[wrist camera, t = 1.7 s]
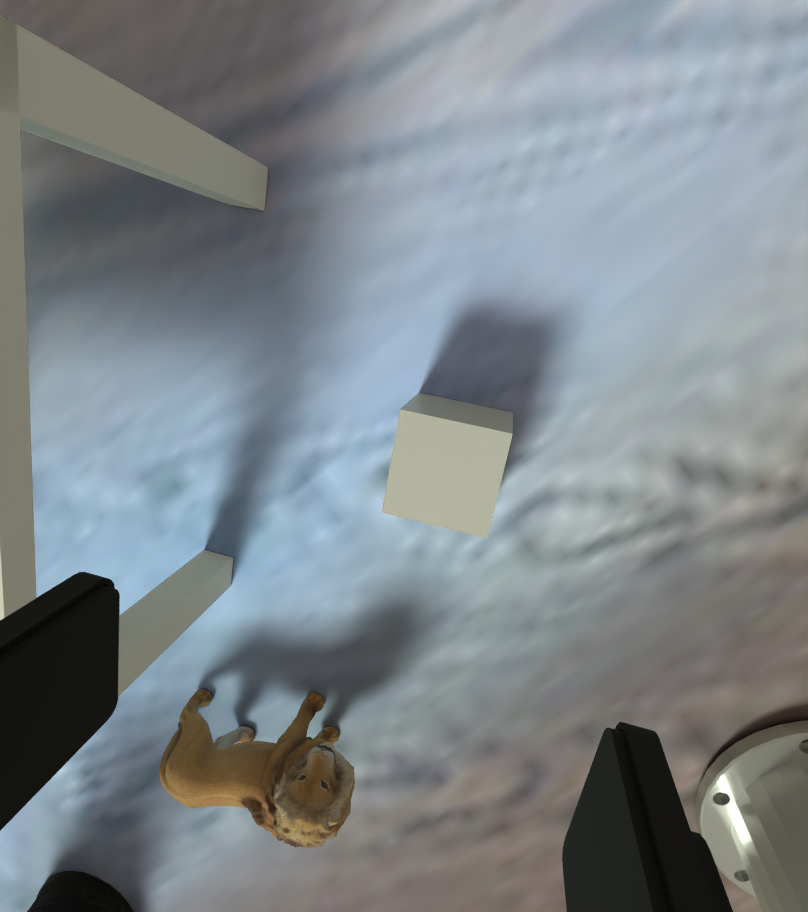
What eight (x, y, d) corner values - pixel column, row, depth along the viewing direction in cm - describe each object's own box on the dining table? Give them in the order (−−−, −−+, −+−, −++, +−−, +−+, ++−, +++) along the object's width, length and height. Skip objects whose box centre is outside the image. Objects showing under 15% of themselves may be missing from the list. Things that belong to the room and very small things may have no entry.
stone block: (513, 412, 28) (512, 433, 23) (491, 500, 29) (487, 538, 24) (419, 392, 28) (400, 409, 24) (402, 479, 30) (381, 512, 25)
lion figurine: (369, 668, 33) (320, 791, 25) (391, 739, 35) (351, 880, 26) (171, 689, 37) (70, 802, 29) (197, 752, 38) (106, 880, 30)
